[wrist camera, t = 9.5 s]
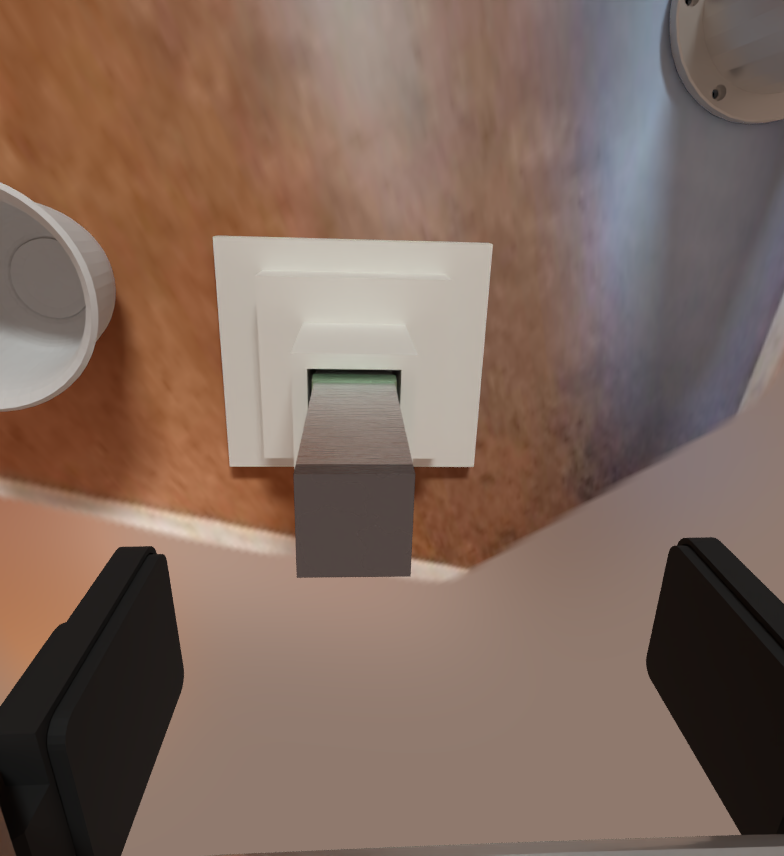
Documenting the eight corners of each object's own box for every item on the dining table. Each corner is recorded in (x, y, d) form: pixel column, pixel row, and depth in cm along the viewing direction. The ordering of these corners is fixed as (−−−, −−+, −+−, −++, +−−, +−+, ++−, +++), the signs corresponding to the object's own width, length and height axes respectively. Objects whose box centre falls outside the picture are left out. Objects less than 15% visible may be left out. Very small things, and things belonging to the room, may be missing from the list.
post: (389, 351, 35) (418, 471, 20) (387, 417, 37) (413, 578, 21) (318, 350, 35) (290, 471, 19) (319, 417, 37) (294, 580, 21)
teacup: (-82, 332, 40) (-215, 372, 31) (13, 134, 36) (-106, 111, 27) (86, 428, 43) (12, 491, 34) (190, 255, 39) (139, 272, 30)
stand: (488, 243, 40) (546, 261, 28) (470, 460, 46) (512, 552, 34) (216, 235, 39) (155, 251, 27) (232, 459, 44) (188, 555, 33)
